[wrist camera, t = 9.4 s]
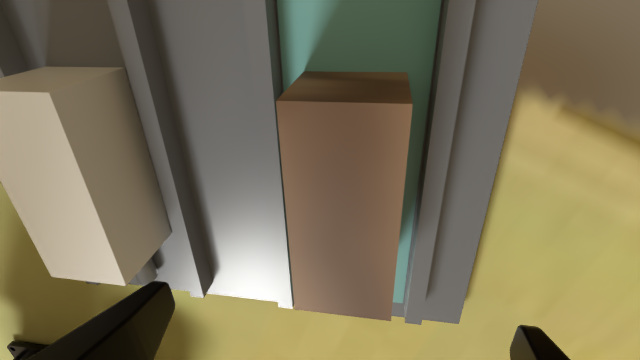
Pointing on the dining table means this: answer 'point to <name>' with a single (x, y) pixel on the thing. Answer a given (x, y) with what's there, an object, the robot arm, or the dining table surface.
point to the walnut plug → (344, 187)
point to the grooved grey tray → (262, 123)
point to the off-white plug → (81, 173)
